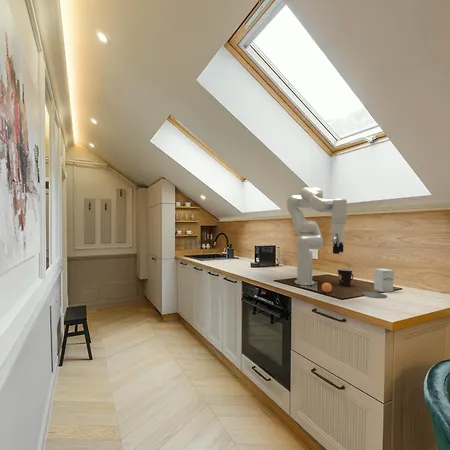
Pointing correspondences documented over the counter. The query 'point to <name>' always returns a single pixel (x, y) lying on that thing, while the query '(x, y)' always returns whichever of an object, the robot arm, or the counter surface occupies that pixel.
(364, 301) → the counter surface
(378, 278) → the supplement box
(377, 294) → the disc
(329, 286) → the ball
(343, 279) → the coffee mug
